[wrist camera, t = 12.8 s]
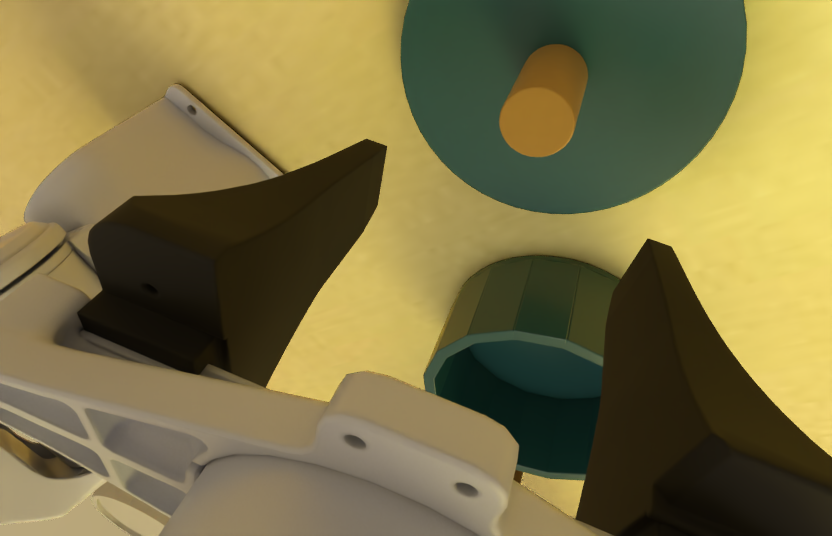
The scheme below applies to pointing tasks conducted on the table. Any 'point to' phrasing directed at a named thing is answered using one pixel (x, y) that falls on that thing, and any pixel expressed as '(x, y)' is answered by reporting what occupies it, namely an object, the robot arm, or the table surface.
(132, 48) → the table surface
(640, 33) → the lid
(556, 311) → the tin
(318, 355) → the table surface
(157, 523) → the disposable coffee cup
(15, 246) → the robot arm
